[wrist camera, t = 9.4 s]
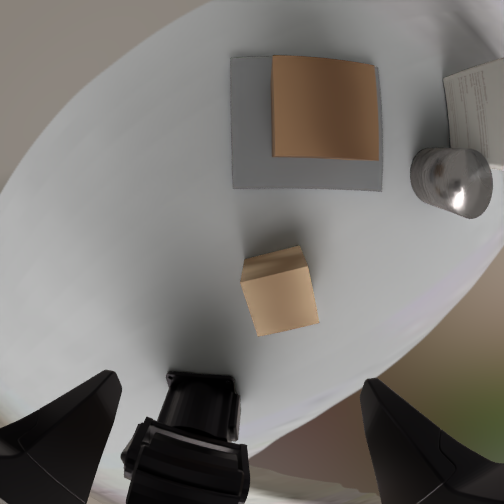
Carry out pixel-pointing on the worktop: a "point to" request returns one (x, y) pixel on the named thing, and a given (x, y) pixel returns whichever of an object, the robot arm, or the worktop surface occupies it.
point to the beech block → (279, 291)
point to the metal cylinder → (453, 180)
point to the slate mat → (260, 141)
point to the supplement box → (478, 110)
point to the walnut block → (323, 109)
